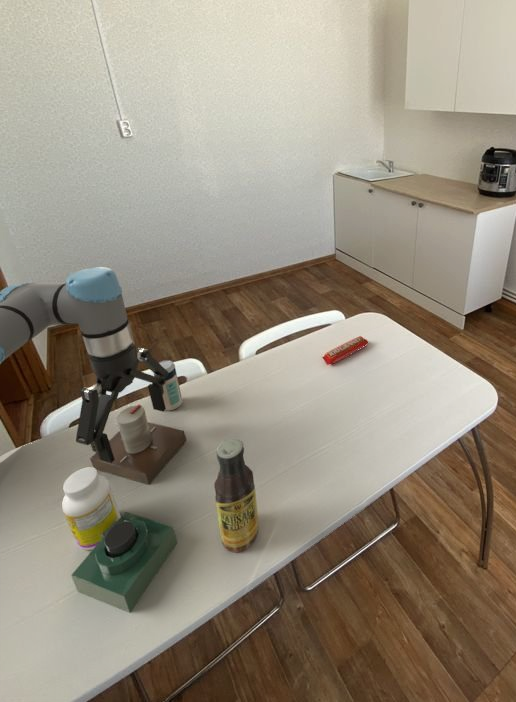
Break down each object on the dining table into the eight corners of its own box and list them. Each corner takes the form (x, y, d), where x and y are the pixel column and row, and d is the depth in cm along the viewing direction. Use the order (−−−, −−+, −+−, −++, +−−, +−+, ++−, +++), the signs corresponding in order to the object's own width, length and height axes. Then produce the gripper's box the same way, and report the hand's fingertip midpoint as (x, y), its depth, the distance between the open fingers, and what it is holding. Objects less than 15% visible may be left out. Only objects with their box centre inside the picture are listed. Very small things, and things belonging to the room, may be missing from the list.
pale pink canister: (169, 397, 98) (160, 358, 94) (186, 398, 98) (178, 359, 94) (157, 411, 94) (147, 370, 90) (175, 412, 93) (166, 372, 89)
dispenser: (77, 592, 59) (66, 566, 57) (130, 527, 68) (122, 503, 66) (130, 613, 56) (120, 587, 54) (177, 542, 65) (171, 518, 63)
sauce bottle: (223, 562, 62) (205, 473, 56) (220, 526, 68) (203, 440, 61) (264, 544, 65) (251, 457, 58) (258, 511, 70) (245, 427, 63)
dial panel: (93, 469, 79) (89, 457, 78) (135, 428, 89) (132, 417, 88) (149, 485, 75) (145, 473, 74) (186, 441, 85) (184, 430, 84)
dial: (139, 456, 78) (130, 424, 75) (119, 450, 80) (110, 419, 77) (157, 436, 83) (149, 406, 80) (138, 432, 84) (130, 402, 81)
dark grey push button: (101, 552, 59) (97, 544, 58) (122, 527, 62) (119, 518, 62) (122, 560, 58) (118, 551, 57) (142, 533, 61) (140, 525, 61)
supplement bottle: (82, 521, 69) (62, 469, 64) (124, 507, 71) (107, 455, 67) (72, 559, 63) (49, 505, 59) (118, 542, 66) (100, 488, 61)
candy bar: (328, 368, 108) (328, 359, 107) (321, 362, 111) (320, 353, 110) (370, 345, 118) (370, 337, 117) (362, 340, 121) (362, 332, 120)
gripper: (146, 312, 85) (164, 389, 92) (27, 387, 62) (64, 481, 70) (174, 316, 83) (190, 395, 90) (62, 395, 61) (96, 491, 68)
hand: (135, 432), depth 80 cm, fingers open, 13 cm apart
